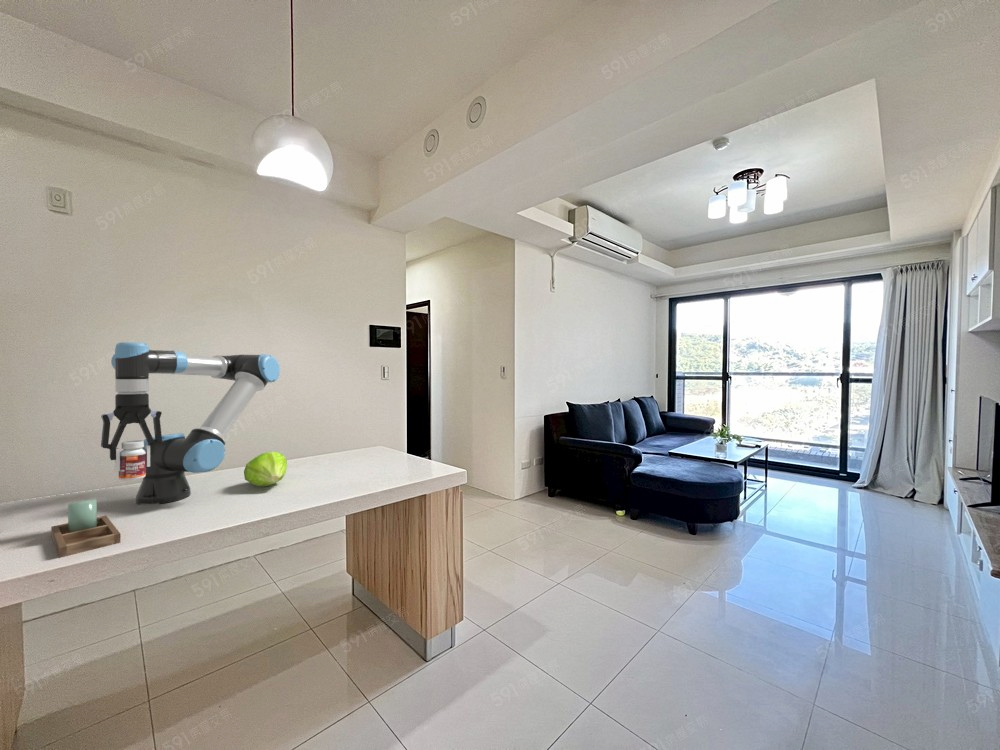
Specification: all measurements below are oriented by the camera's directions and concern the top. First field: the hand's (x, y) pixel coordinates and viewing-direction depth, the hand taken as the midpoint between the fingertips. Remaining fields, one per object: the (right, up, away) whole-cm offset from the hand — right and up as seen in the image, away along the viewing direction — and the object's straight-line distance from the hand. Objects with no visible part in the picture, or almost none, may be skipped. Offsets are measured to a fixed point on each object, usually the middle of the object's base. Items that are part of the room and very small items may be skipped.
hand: (132, 467), depth 122 cm
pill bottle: (0, -3, 0) cm, 3 cm away
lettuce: (+18, -17, +39) cm, 46 cm away
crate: (-1, -17, -13) cm, 21 cm away
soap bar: (-5, -16, -10) cm, 20 cm away
